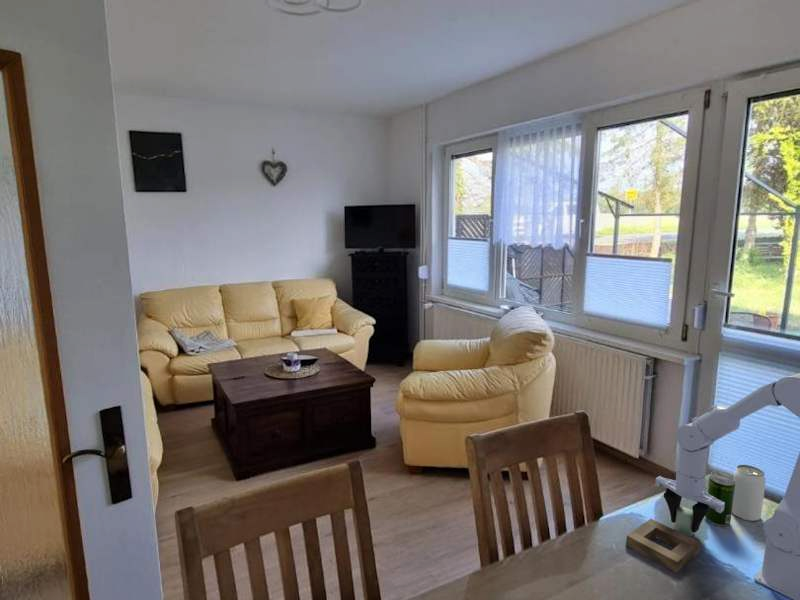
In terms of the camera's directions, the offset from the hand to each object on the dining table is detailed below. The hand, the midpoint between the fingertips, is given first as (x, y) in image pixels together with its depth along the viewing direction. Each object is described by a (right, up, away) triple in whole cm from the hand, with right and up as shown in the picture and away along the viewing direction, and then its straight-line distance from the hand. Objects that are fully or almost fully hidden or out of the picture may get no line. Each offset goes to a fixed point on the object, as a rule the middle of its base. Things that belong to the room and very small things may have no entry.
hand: (684, 525), depth 118 cm
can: (+20, -1, +8) cm, 21 cm away
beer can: (+11, -1, +4) cm, 12 cm away
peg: (0, -1, 0) cm, 1 cm away
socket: (-9, -2, -6) cm, 11 cm away
